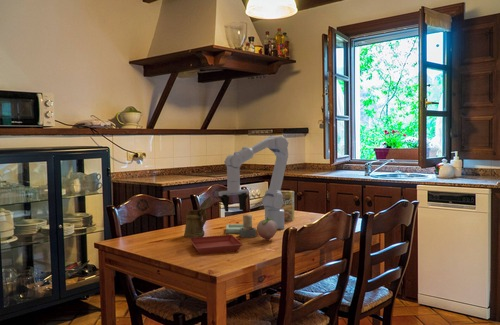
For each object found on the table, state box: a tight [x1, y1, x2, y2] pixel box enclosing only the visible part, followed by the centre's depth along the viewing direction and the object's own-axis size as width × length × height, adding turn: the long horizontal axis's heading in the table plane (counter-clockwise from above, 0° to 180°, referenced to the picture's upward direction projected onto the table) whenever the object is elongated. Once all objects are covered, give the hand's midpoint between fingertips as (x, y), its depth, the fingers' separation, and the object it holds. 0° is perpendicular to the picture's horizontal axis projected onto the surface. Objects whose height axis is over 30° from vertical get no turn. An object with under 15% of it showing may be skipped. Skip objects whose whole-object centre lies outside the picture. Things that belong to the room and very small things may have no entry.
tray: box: [225, 223, 243, 235], centre depth 213 cm, size 11×12×2 cm
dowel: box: [242, 214, 253, 230], centre depth 202 cm, size 4×4×9 cm
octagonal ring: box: [239, 227, 257, 239], centre depth 202 cm, size 7×7×3 cm
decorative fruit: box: [256, 217, 278, 241], centre depth 193 cm, size 9×8×10 cm
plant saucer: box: [189, 234, 243, 255], centre depth 181 cm, size 18×18×3 cm
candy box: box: [280, 190, 295, 222], centre depth 240 cm, size 9×4×15 cm, turn 70°
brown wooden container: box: [183, 196, 212, 238], centre depth 202 cm, size 9×14×18 cm, turn 61°
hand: (234, 210), depth 209 cm, fingers open, 7 cm apart
